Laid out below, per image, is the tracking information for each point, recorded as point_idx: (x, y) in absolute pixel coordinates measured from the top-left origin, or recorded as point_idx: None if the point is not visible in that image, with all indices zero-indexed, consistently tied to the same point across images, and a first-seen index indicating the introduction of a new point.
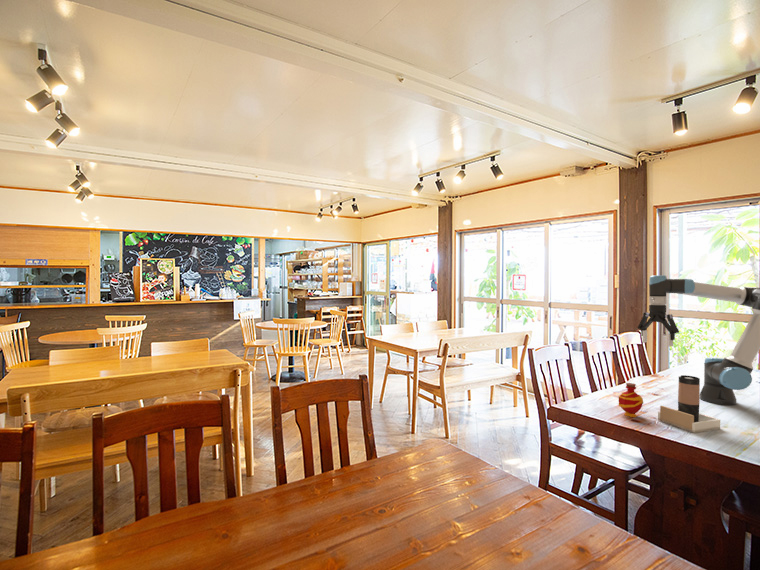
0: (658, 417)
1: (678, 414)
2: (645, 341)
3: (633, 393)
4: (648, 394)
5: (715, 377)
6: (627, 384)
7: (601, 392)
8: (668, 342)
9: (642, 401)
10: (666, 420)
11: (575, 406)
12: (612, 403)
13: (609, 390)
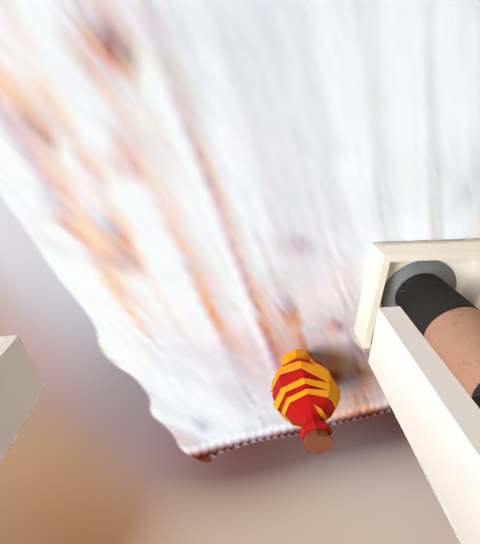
0: (357, 336)
1: None
2: (26, 374)
3: (323, 419)
4: (110, 89)
5: None
6: (315, 452)
7: (67, 274)
8: (395, 404)
9: (335, 385)
10: None
11: (198, 421)
12: (198, 332)
13: (34, 221)
